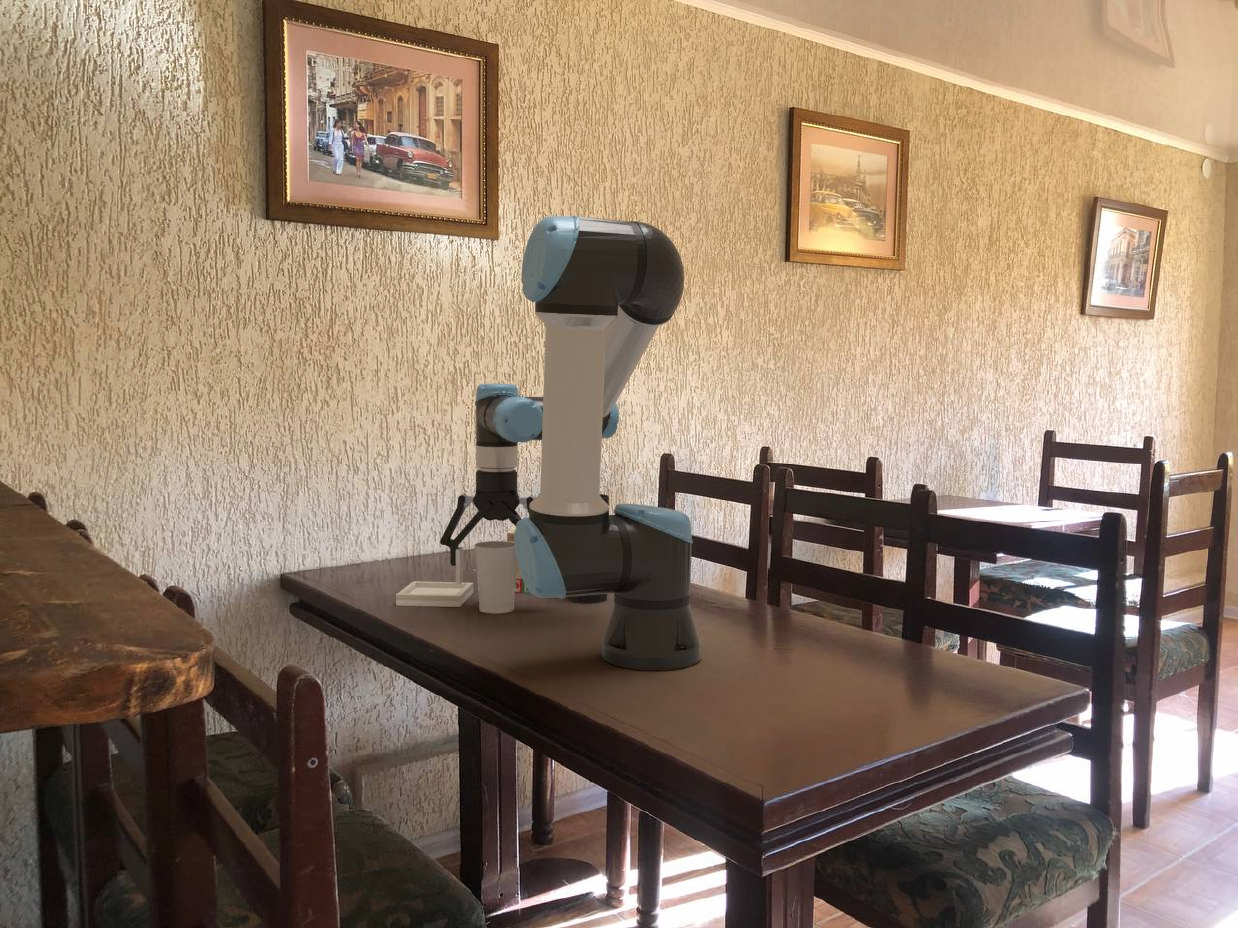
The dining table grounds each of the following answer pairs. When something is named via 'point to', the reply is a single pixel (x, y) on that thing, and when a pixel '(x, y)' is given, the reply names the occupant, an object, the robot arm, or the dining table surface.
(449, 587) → the cream square tray
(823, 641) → the dining table surface
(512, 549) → the cup
